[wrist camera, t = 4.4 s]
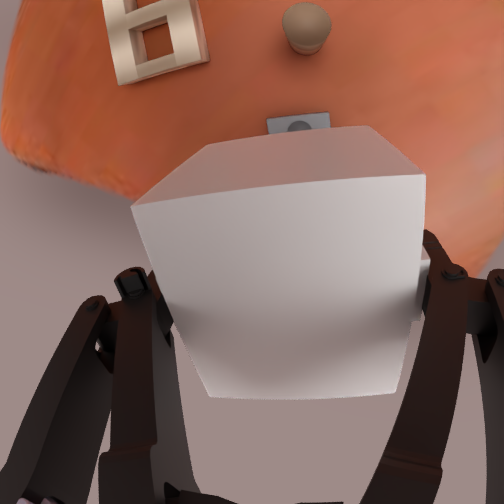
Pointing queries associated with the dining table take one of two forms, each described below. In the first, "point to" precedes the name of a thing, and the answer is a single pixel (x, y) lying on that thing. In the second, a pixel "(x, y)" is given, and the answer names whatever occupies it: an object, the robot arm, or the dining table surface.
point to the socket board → (137, 20)
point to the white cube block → (290, 261)
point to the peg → (306, 27)
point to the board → (298, 122)
